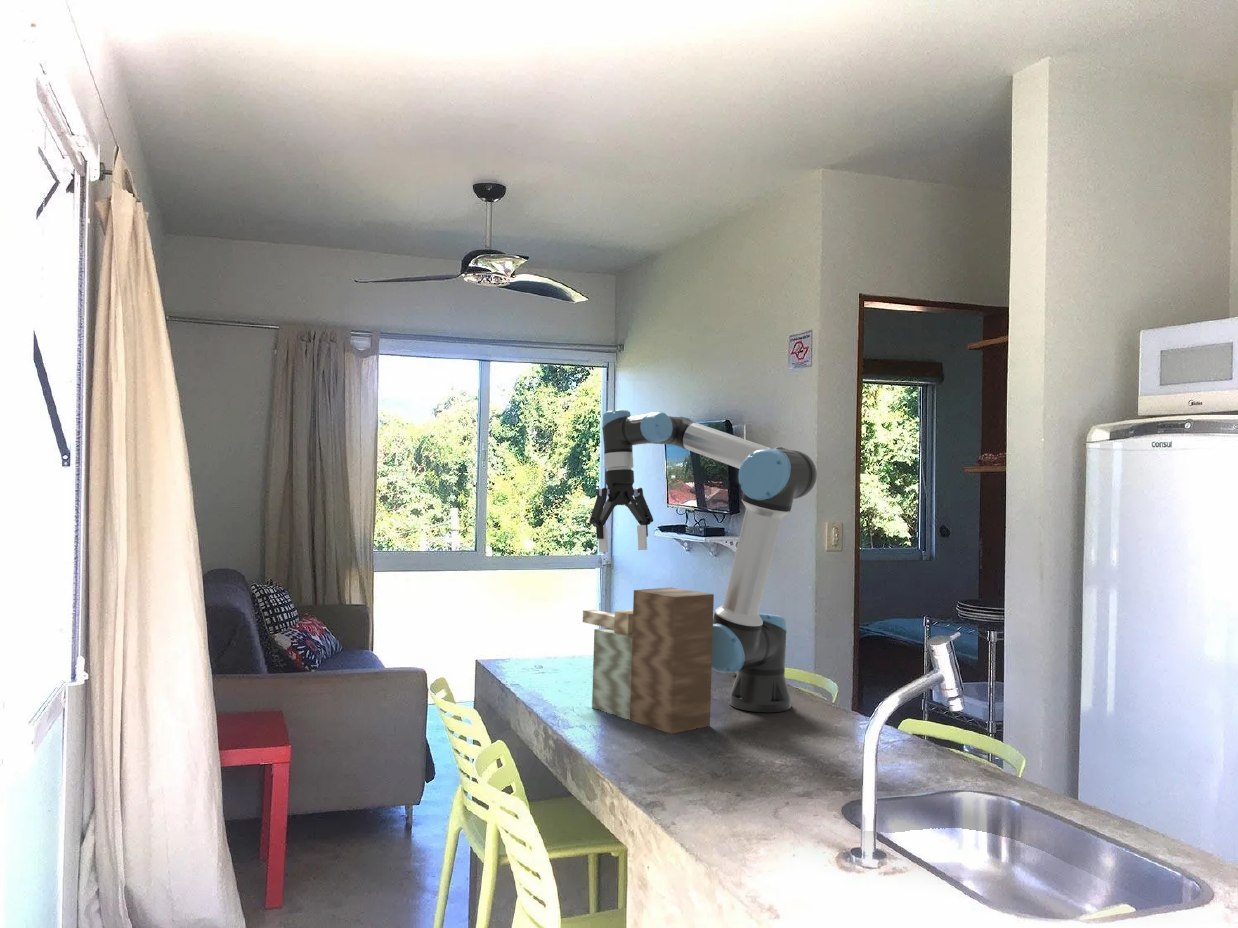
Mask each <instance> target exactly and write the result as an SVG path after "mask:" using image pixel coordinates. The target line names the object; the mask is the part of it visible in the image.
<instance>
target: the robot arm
mask: <svg viewBox="0 0 1238 928" xmlns="http://www.w3.org/2000/svg"><path fill="white" fill-rule="evenodd" d="M601 429H602V437H603V447H604V448H603V450H604V452H603V453H604V454H603V456H604V469H606V471H605V472H604V477H605V479H604V480H605V485H606V486H607V487H600V488H597V490H596V491H597V492H596V493H597V495H596V500H595V503H594V505H593V509H592V512H591V514H590V518H589V521H588V523H589V524H590V525H592V526H593V527H595V529H596V530H595V531H596V533H595V534H596V539H597V540H598V551H599V553H607V552H609V546H608V545H609V541H608V526H607V525H605V524H606V522H607V520H608V519H609V517H610V516H611V514H612V512H613V510H614V508H615V507H617V506H625V507H627V508H628V510H629V511H630V513H631V514H632V515H633V517H634V518H635V520H636V521H637V522H638V524H639V525H636V532H637V548H638V550H637V551H645V550H648V536H649V529H648V528H649V527H648V526H649V525H651V523H653V522H654V518H653V515H652V513H651V511H650V508H649V505H648V503H647V501H646V498H645V496H644V489H643V488H642V487H634V486H633V485H634V483H635V473H634V472H635V471H634V470H633V468H634V452H633V450H634V449H633V446H638V445H647V444H655V445H657V444H658V445H668V446H674V447H678V448H681V449H684V450H688V451H691V452H692V453H695V454H699V455H701V456H704V457H707V458H709V459H712V460H714V461H717V462H720V463H723V464H724V465H728V466H731V467H734V468H736V469H739V470H738V483H739V485H740V489H741V491H742V496H741V502H742V504H743V505H744V507H745V513H744V515H743V521H742V523H741V524H742V525H741V529H740V533H739V537H738V541H737V546H736V550H735V554H734V559H733V562H732V566H731V570H730V575H729V580H728V582H727V583H728V584H727V588H726V593H725V596H724V600H723V603H722V605H720V606H718V607H717V608H715V610H714V613H713V638H712V671H715V672H717V673H721V674H728V673H732V674H733V673H734V672H737V671H738V673H737V675H736V677H735V679H734V682H733V685H732V688H731V691H730V693H729V705H730V706H731V707H733V708H735V709H738V710H743V711H746V712H755V713H780V712H786V711H789V710H791V707H792V698H791V694H790V690H789V687H788V684H787V680H786V676H785V670H786V650H787V649H786V647H787V646H786V643H787V642H786V640H787V621H786V619H785V617H784V616H782V615H779V614H778V615H777V614H772V613H764V612H760V609H761V606H762V600H763V596H764V592H765V589H766V585H767V581H768V577H769V573H770V567H771V563H772V561H773V560H772V559H773V556H774V552H775V547H776V544H777V539H778V535H779V532H780V527H781V524H782V520H783V517H785V516H787V515H788V514H790V513H791V511H792V506H793V502H794V499H800V498H802V497H804V496H806V495H808V494H809V493H810V492H811V491H812V490H813V488H814V487H815V485H816V482H817V476H818V472H817V467H816V465H815V462H814V461H813V460H812V458H811V457H810V456H809V455H807V454H806V453H804V452H801V451H799V450H791V449H787V448H784V447H782V446H776V447H774V448H771V447H768V446H765V445H763V444H759V443H757V442H754V441H751V440H748V439H745V438H742V437H739V436H736V435H733V434H731V433H728V432H724V431H721V430H718V429H716V428H714V427H713V428H712V427H709V426H706V425H703V424H701V423H698V422H696V421H695V420H693V419H691V418H688V417H684V416H671V415H667V413H666V412H663V411H659V412H648V413H644V414H639V415H633V416H632V415H631V411H629V410H626V409H615V410H613V409H612V410H607V411H605V412H604V413H603V414H602V427H601ZM607 497H608V498H607Z"/></svg>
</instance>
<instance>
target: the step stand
mask: <svg viewBox="0 0 1238 928" xmlns="http://www.w3.org/2000/svg"><path fill="white" fill-rule="evenodd" d="M714 595H715V594H714V593H708V592H703V591H696V590H689V589H684V588H678V587H673V586H672V587H661V588H659V587H657V588H647V589H646V588H645V589H634V590H633V604H632V605H633V607H632V610H633V632H632V635H624V634H619V633H615V632H614V629H611V628H607V627H603V628H595V629H594V632H593V633H594V634H593V659H592V660H593V664H592V666H593V669H592V697H591V699H592V700H591V708H592V709H594V710H597V709H599V710H598V711H600V710H601V711H600V712H603V711H604V713H606V712H607V713H606V714H608V715H612V714H614V715H613V716H615V715H617V716H616V717H619V718H622V719H623V720H627V719H629V720H628V721H630V720H631V721H632V722H634V723H637V724H641V725H643V726H647V727H650V728H652V729H656V730H659V731H662V732H663V733H667V734H670V735H671V734H672V735H673V734H677V733H681V732H686V731H692V730H697V729H696V728H698V729H702V728H706V727H707V728H708V727H711V704H712V703H711V698H712V671H713V669H712V638H713V618H714V606H715V605H714V603H715V602H714V601H715V597H714ZM631 721H630V722H631Z"/></svg>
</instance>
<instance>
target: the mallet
mask: <svg viewBox="0 0 1238 928" xmlns="http://www.w3.org/2000/svg"><path fill="white" fill-rule="evenodd" d="M582 623H584V624H589V625H595V626H599V627H603V628H611V629H614V632H615V633H619V634H624V635H632V632H633V609H626V610H625V609H624V610H615V611H614V613H612V612H607V611H601V610H598V609H597V610H596V609H583V610H582Z"/></svg>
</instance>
